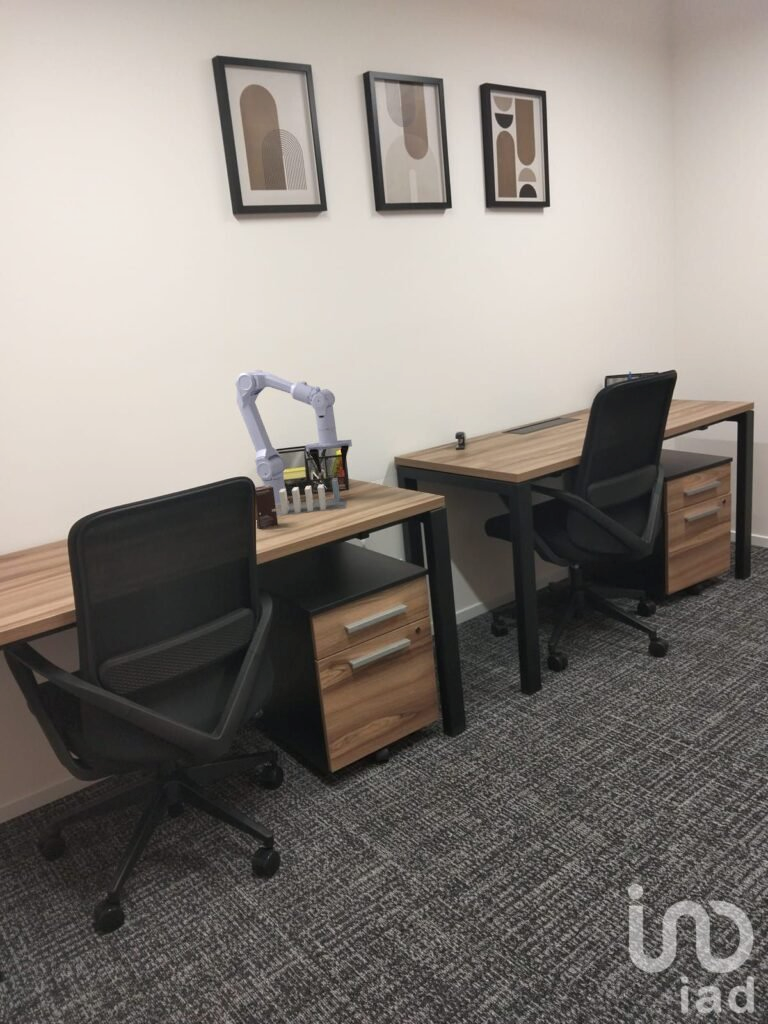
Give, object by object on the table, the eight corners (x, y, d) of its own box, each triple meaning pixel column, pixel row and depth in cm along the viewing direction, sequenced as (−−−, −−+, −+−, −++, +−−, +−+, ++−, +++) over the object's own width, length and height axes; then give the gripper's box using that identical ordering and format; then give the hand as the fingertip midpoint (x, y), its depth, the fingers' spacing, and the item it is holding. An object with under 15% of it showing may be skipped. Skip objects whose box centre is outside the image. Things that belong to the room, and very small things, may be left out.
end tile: (334, 502, 236) (331, 481, 234) (335, 499, 241) (332, 478, 239) (339, 502, 236) (336, 480, 234) (340, 498, 241) (337, 477, 239)
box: (260, 531, 213) (254, 490, 210) (254, 528, 216) (248, 488, 213) (279, 526, 216) (273, 486, 213) (273, 523, 219) (267, 484, 216)
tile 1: (282, 514, 228) (278, 492, 227) (284, 510, 233) (280, 488, 232) (287, 513, 228) (284, 491, 227) (289, 509, 233) (285, 488, 232)
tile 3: (307, 511, 228) (304, 489, 227) (309, 507, 233) (306, 486, 232) (312, 510, 228) (309, 488, 227) (314, 507, 233) (311, 485, 232)
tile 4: (320, 509, 228) (317, 487, 227) (321, 506, 233) (318, 484, 232) (325, 509, 228) (322, 487, 227) (326, 505, 233) (323, 484, 232)
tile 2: (295, 512, 228) (291, 490, 227) (296, 509, 233) (293, 487, 232) (300, 512, 228) (296, 490, 227) (301, 508, 233) (298, 486, 232)
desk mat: (274, 517, 227) (274, 516, 227) (280, 506, 242) (280, 505, 242) (345, 509, 227) (345, 508, 227) (347, 498, 241) (346, 497, 241)
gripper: (302, 433, 229) (308, 475, 232) (349, 427, 228) (354, 470, 232) (304, 430, 235) (310, 471, 239) (349, 425, 235) (354, 466, 238)
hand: (332, 470), depth 236 cm, fingers open, 7 cm apart
